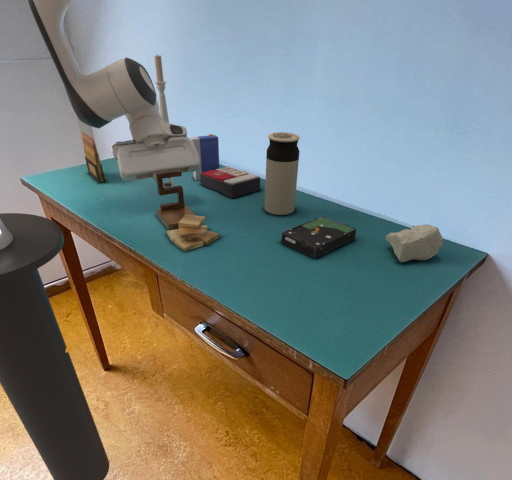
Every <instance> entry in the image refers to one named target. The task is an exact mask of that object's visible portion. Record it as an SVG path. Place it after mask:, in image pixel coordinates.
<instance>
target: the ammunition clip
mask: <svg viewBox="0 0 512 480" xmlns="http://www.w3.org/2000/svg"><path fill="white" fill-rule="evenodd" d="M81 139H82V144H83V152H84V159H85V162H86V167H87V172H88V175H89V176H91V177H92V178H93V179H94V180H95V181H96V182H97V183H98V184H103V183H106V177H105V173H104V169H103V165H102V162H101V159H100V155H99V153H98V150H97V145H96V142H95V140H94V138H93V137H91V136H89V135H88V134H87V133H86V132H84V131H81Z"/></svg>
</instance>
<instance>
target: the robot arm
mask: <svg viewBox="0 0 512 480" xmlns="http://www.w3.org/2000/svg"><path fill="white" fill-rule="evenodd" d="M27 2H28V6H29V8H30V9H29V10H30V11H31V13H32V17H33V19H34V21H35V23H36V26H37V28H38V30H39V33H40V35H41V38H42V40H43V41H44V44H45V47H46V48H47V50H48V53H49V55H50V57H51V59H52V61H53V64H54V66H55V68H56V70H57V73H58V75H59V77H60V79H61V82H62V84H63V86H64V89H65V92H66V94H67V97H68V100H69V103H70V105H71V107H72V110H73V112H74V115H76V117H77V119H78V120H79V122H81V123H82V124H85V125H87V126H89V127H92V128H95V129H101V128H103V127H105V126H107V125H108V124H110V123H112V122H113V121H114V120H116V119H119V118H121V117H123V116H125V118H126V120H127V122H128V125H129V126H128V127H129V131H130V134H131V139H128V140H123V141H116V142H115V143H114V144H113V145H112V146H111V153H112V156H113V158H114V159H115V160H116V161H117V166H118V171H119V175H120V179H122V180H123V181H124V182H131V181H139V180H145V179H152V180H153V182H154V183H156V175H155V172H161V171H169V170H177V169H179V170H181V174H185V173H191V172H192V173H193V172H194V171H196V170H197V169H198V167H199V165H200V158H199V155H198V152H197V150H196V148H195V146H194V144H193V142H192V141H191V138H190V137H188V130H187V128H186V127H185V126H184V125H178V124H174V123H171V122H169V123H167V122H164V120H163V118H162V116H161V115H160V105H159V100H158V98H157V97H158V95H157V91H156V88H155V86H154V84H153V80H152V77H151V76H150V74H149V72H148V71H147V68H145V66H143V65H142V64H141V63H139V62H138V61H137V60H134V59H132V58H130V57H124V58H121V59H118V60H116V61H114V62H111V63H110V64H107V65H106V66H104V67H101V68H100V69H98V70H96V71H93V72H91V73H89V74H83V73H82V71H81V69H80V67H79V64H78V62H77V60H76V57H75V55H74V52H73V50H72V47H71V45H70V43H69V41H68V38H67V36H66V33H65V29H64V19H65V15H66V13H67V10H69V7H70V6H71V4H72V3H73V2H74V0H27ZM167 179H168V180H169V181H166V182H164V181H163V187H164V188H166V187H174V186H175V185H174V180H175V177H171V178H167ZM12 241H13V235H12V234H11V233H10V232H9V230H8V229H7V228H6V226H5V225H4V223H3V222H2V220H1V218H0V250H2V249H3V248H5V247H7V246H8V245H9V244H10V243H11V242H12Z"/></svg>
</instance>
